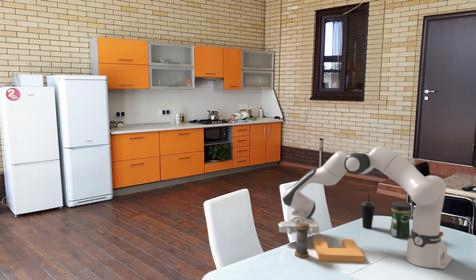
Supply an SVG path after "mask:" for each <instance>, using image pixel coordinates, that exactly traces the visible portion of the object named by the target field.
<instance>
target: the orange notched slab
mask: <svg viewBox="0 0 476 280" xmlns="http://www.w3.org/2000/svg"><path fill="white" fill-rule="evenodd" d="M312 244H313V247H314V250H315V253H316V256H317V258H318V261H319V262H339V263H341V262H342V263H343V262H344V263H345V262H346V263H348V262H349V263H350V262H351V263H364V262H365V255H364V254H363V252H362V250H361V249H360V247H359V246H358V244H357V243H356V241H355V239H353V238H342V239H341V246H342V248H341V247H329V246H328V243H327V241H326V239H325V238H321V237H319V238H318V237H312Z"/></svg>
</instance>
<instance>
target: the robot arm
mask: <svg viewBox="0 0 476 280" xmlns="http://www.w3.org/2000/svg"><path fill="white" fill-rule="evenodd" d="M374 169H377V170H379V172H381V173H382V174H384V175H386V176H387V178H388V177H389V179H391V180H392V181H393V182H395V183H397V184H398V185H399V186H400V187H401V188H402V189H403V190H404V191H405V192H406V193H407V195H408V196H409V197H410V199H411V201H412V202H414V203H415V207H414V211H413V214H412V215H413V216H412V228H411V230H410V238H408V240H407V245H406V251H404V252H403V256H404V257H405V258H406V260H407V262H409V263H410V264H413V265H415V266H416V267H417V266H418V267H422V268H427V269H433V268H434V269H443V270H445V269H446V268H447V267H448V266H449V264H450V262H451V261H452V260H453V256H452V255H450V254H449V253H448V245H446V244H445V243H444V242H443V241H442V237H443V236H444V232H443V231H440V229H441V216H442V211H443V207H444V201H445V195H446V188H447V185H446V182H445V180H444V179H443V178H442V177H439V176H437V175H427V176H424V175H423V174H422V173H421V172H420V170H418V169H417V168H416V166H415V165H414V164H413V163H412V162H410V161H409V160H407V159H405V158H404V157H403V156H401V155H400V154H398V153H396V152H395V151H392V150H391V149H390V148H387V147H384V146H382V145H377V146H374V147H373V148H372V149H371V150H370V152H368V151H356V152H352V153H350V154H349V153H347V152H346V151H345V152H344V151H341V150H339V151H336V152H335V153H334V154H332V155H331V157H330V158H328V159H327V161H325V163H324V164H323V165H322V166H320V167H319V168H312V169H311V170H309V171H308V172H307V173H305V174H304V175H303V176H302V177H301V178H300V179H298V181H296V182H295V183H294V184H293V185H291V186H290V187H289V188H288V189H286V190H285V192H284V193H283V195H282V197H281V198H282V201H283V205H286V206H288V207H290V208H291V209H290V210H288V212H287V213H288V214H287V221H285V220H284V221H280V222H279V223H278V224H277V226H278V232H280V233H282V234H283V233H286V234H289V235H293V234H297V229H296V223H299V222H304V223H308V224H309V229H308V236H311V235H312V234H319V233H320V225H319V223H318V222H317V221H315V217H313V216H314V214H315V211H316V202H315V200H313V199H312V198H310V197H308V196H307V195H305V194H304V193H302V192H301V191H302V190H303V189H304V188H305V187H307V185H309V184H319V185H322V186H333V185H337V184H338V182H340V180H341V179H342V178H343V177H344V176H345V175H346V173H349V174H351V175H355V176H357V175H364V174H368V173H371V172H372V171H374Z"/></svg>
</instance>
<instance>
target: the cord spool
mask: <svg viewBox="0 0 476 280" xmlns="http://www.w3.org/2000/svg"><path fill="white" fill-rule="evenodd" d="M296 229H297V233H296V245H295V246H296V249H295V250H294V256H295V257H296V258H299V259H307V258H309V254H310V253H309V251H308V239H309V238H308V236H309V235H308V229H309V224H308V223H304V222H299V223H296Z"/></svg>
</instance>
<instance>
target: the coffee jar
mask: <svg viewBox="0 0 476 280" xmlns="http://www.w3.org/2000/svg"><path fill="white" fill-rule="evenodd" d="M411 207H412V205H411V203H409V202H407V201H399V202H398V201H397V202H392V203H391V208H390V209H391V213H392V214H391V215H392V216H391V222H390V228H389V229H390V230H389V234H390V236H392V237H394V238H397V239H400V238H401V239H403V238H408V237H411V230H410V229H411V228H410V215H411V212H412V208H411Z"/></svg>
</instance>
